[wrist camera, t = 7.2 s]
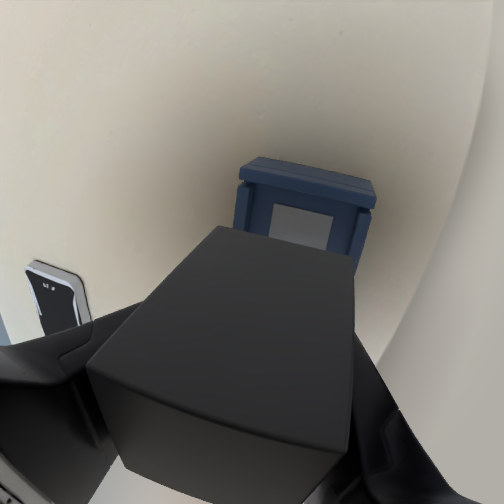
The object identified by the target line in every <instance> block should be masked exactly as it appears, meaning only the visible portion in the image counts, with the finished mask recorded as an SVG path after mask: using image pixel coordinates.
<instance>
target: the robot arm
mask: <svg viewBox="0 0 504 504" xmlns="http://www.w3.org/2000/svg"><path fill="white" fill-rule="evenodd" d="M142 302H143V301H142ZM142 302H139V303H137V304H134V305H131V306H129V307H126V308H124V309H121V310H118V311H116V312H113V313H111V314H108V315H105V316H103V317H100V318H97V319H95V320H94V322H93V321H89V322H87V323H84V324H82V325H79V326H76V327H73V328H70V329H67V330H64V331H61V332H58V333H55V334H51V335H48V336H44V337H40V338H37V339H33V340H30V341H26V342H22V343H19V344H15V345H9V346H0V504H88V503H89V501H90V499H91V498H92V496H93V495H94V493H95V491H96V490H97V488H98V487H99V485H100V483H101V482H102V480H103V479H104V477H105V475H106V474H107V472H108V471H109V469H110V466H111V465H112V464H113V462H114V461H115V459H116V457H117V456H118V454H119V453H118V451H117V449H116V447H115V445H114V442H113V440H112V438H111V435H110V433H109V431H108V428H107V426H106V423H105V421H104V418H103V416H102V413H101V411H100V408H99V405H98V403H97V400H96V397H95V394H94V392H93V389H92V386H91V383H90V380H89V377H88V374H87V371H86V364H87V362H88V361H89V360H90V359H91V357H92V356H93V355H94V354H95V353H96V352H97V351H98V350H99V349H100V347H101V346H102V345H103V344H104V343H105V342H106V341H107V340H108V339H109V338H110V337H111V335H112V334H113V333H114V332H115V331H116V330H117V329H118V328H119V327H120V326H121V325H122V324H123V322H124V321H125V320H126V319H127V318H128V317H129V316H130V315H131V314H132V313H133V312H134V311H135V310H136V309H137V308H138V306H139V305H140V304H141V303H142ZM398 409H399V408H398V406H397V404H396V402H395V400H394V399H393V397H392V395H391V393H390V392H389V390H388V388H387V386H386V385H385V383H384V381H383V379H382V378H381V376H380V374H379V373H378V371H377V369H376V367H375V365H374V364H373V362H372V360H371V359H370V357H369V355H368V354H367V352H366V350H365V348H364V347H363V345H362V343H361V342H360V340H359V338H358V337H357V335H356V333H355V332H354V368H353V389H352V405H351V419H350V431H349V441H348V451H347V452H346V454H345V455H344V456H343V457H342V459H341V460H340V461H339V462H338V464H337V465H336V466H335V467H334V469H333V470H332V471H331V472H330V473H329V474H328V476H327V477H326V478H325V479H324V480H323V481H322V483H321V484H320V485H319V486H318V487H317V488H316V489H315V490H314V492H313V493H312V494H311V495H310V496H309V497H308V498H307V499H306V500H305V501H304V504H481V503H478V502H476V501H473V500H470V499H468V498H465V497H463V496H461V495H460V494H458V493H457V492H456V491H454V490H453V489H452V488H451V487H450V486H449V484H448V483H447V482H446V480H445V479H444V477H443V476H442V475H441V473H440V472H439V470H438V469H437V467H436V466H435V465H434V463H433V462H432V460H431V459H430V457H429V456H428V455H427V453H426V452H425V450H424V449H423V447H422V446H421V444H420V443H419V441H418V440H417V438H416V437H415V435H414V433H413V432H412V430H411V429H410V427H409V425H408V424H407V422H406V420H405V418H404V416H403V415H402V413H401V411H400V410H398Z"/></svg>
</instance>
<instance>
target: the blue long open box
mask: <svg viewBox="0 0 504 504" xmlns="http://www.w3.org/2000/svg"><path fill="white" fill-rule="evenodd" d="M239 179H240V180H244V182H242V183H241V184H240V185H239V186H238V189H237V197H236V206H235V214H234V223H233V229H236V230H241V231H245V232H249V233H254V234H258V235H262V236H267V237H271V238H275V239H279V240H284V241H288V242H292V243H296V244H300V245H305V246H309V247H313V248H317V249H321V250H325V251H330V252H334V253H338V254H342V255H346V256H350V257H352V258H353V260H354V275H355V272H356V269H357V266H358V263H359V259H360V256H361V253H362V249H363V246H364V243H365V239H366V236H367V232H368V229H369V225H370V222H371V218H372V215H371V211H370V209H374V207H375V203H376V199H377V198H376V195H375V192H374V190H373V187H372V184H371V182H370V181H369V180H365V179H361V178H357V177H353V176H349V175H345V174H340V173H336V172H332V171H327V170H323V169H318V168H314V167H309V166H304V165H300V164H295V163H290V162H285V161H280V160H274V159H269V158H264V157H257V158H256V159H254V160H252V161H251V162H249V163H248V164H246V165H244V166H242V167H241V168H240V173H239Z"/></svg>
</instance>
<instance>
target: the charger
mask: <svg viewBox="0 0 504 504" xmlns="http://www.w3.org/2000/svg"><path fill="white" fill-rule="evenodd" d="M354 330H355V296H354V260H353V258H352V257H350V256H346V255H342V254H338V253H334V252H330V251H325V250H321V249H317V248H313V247H309V246H305V245H300V244H296V243H292V242H288V241H284V240H279V239H275V238H271V237H267V236H262V235H258V234H254V233H249V232H245V231H241V230H236V229H232V228H228V227H223V226H217V227H216V228H215V229H214V230H213V231H212V232H211V233H210V234H209V235H208V236H207V237H206V238H205V239H204V240H203V241H202V242H201V243H200V244H199V245H198V246H197V247H196V248H195V249H194V250H193V251H192V252H191V253H190V254H189V255H188V256H187V257H186V258H185V259H184V260H183V261H182V262H181V263H180V264H179V265H178V266H177V267H176V268H175V269H174V270H173V271H172V272H171V273H170V274H169V275H168V276H167V277H166V278H165V279H164V280H163V281H162V282H161V283H160V284H159V285H158V287H157V288H156V289H155V290H154V291H153V292H152V293H151V294H150V295H149V296H148V297H147V298H146V299H145V300H144V301H143V302H142V303H141V304H140V305H139V306H138V308H137V309H136V310H135V311H134V312H133V313H132V314H131V315H130V316H129V317H128V318H127V319H126V320H125V321H124V322H123V324H122V325H121V326H120V327H119V328H118V329H117V330H116V331H115V332H114V333H113V334H112V335H111V337H110V338H109V339H108V340H107V341H106V342H105V343H104V344H103V345H102V346H101V347H100V349H99V350H98V351H97V352H96V353H95V354H94V355H93V356H92V357H91V359H90V360H89V361H88V362H87V364H86V371H87V374H88V377H89V380H90V383H91V386H92V389H93V392H94V394H95V397H96V400H97V403H98V405H99V408H100V411H101V413H102V416H103V418H104V421H105V423H106V426H107V428H108V431H109V433H110V435H111V438H112V440H113V442H114V445H115V447H116V449H117V451H118V453H119V456H120V458H121V460H122V462H123V464H124V466H125V467H126V469H128V470H130V471H132V472H135V473H137V474H139V475H141V476H143V477H145V478H147V479H150V480H152V481H154V482H157V483H159V484H161V485H164V486H166V487H169V488H171V489H174V490H176V491H179V492H181V493H184V494H187V495H189V496H192V497H195V498H198V499H201V500H203V501H206V502H210V503H213V504H302V503H303V502H304V501H305V500H306V499H307V498H308V497H309V496H310V495H311V494H312V493H313V492H314V490H315V489H316V488H317V487H318V486H319V485H320V484H321V483H322V481H323V480H324V479H325V478H326V477H327V476H328V474H329V473H330V472H331V471H332V470H333V469H334V467H335V466H336V465H337V464H338V462H339V461H340V460H341V459H342V457H343V456H344V455H345V454H346V452H347V451H348V441H349V431H350V419H351V405H352V389H353V368H354Z"/></svg>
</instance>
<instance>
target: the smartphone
mask: <svg viewBox="0 0 504 504" xmlns="http://www.w3.org/2000/svg"><path fill="white" fill-rule="evenodd" d="M25 273H26V277H27V281H28V284H29V288H30V291H31V294H32V298H33V301H34V304H35V307H36V310H37V313H38V316H39V319H40V322H41V325H42V328H43V330H44V333H45V336H48V335H51V334H55V333H58V332H61V331H64V330H67V329H70V328H73V327H76V326H79V325H82V324H84V323H87V322H89V321H91V319H90V315H89V311H88V307H87V303H86V298H85V294H84V289H83V285H82V282H81V280H80V279H79V278H78V277H77V276H76V275H74V274H71V273H68V272H65V271H62V270H60V269H57V268H54V267H51V266H49V265H46V264H43V263H41V262H38V261H33V262H31V263H30V264H29V265H27V266H26V267H25Z"/></svg>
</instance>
